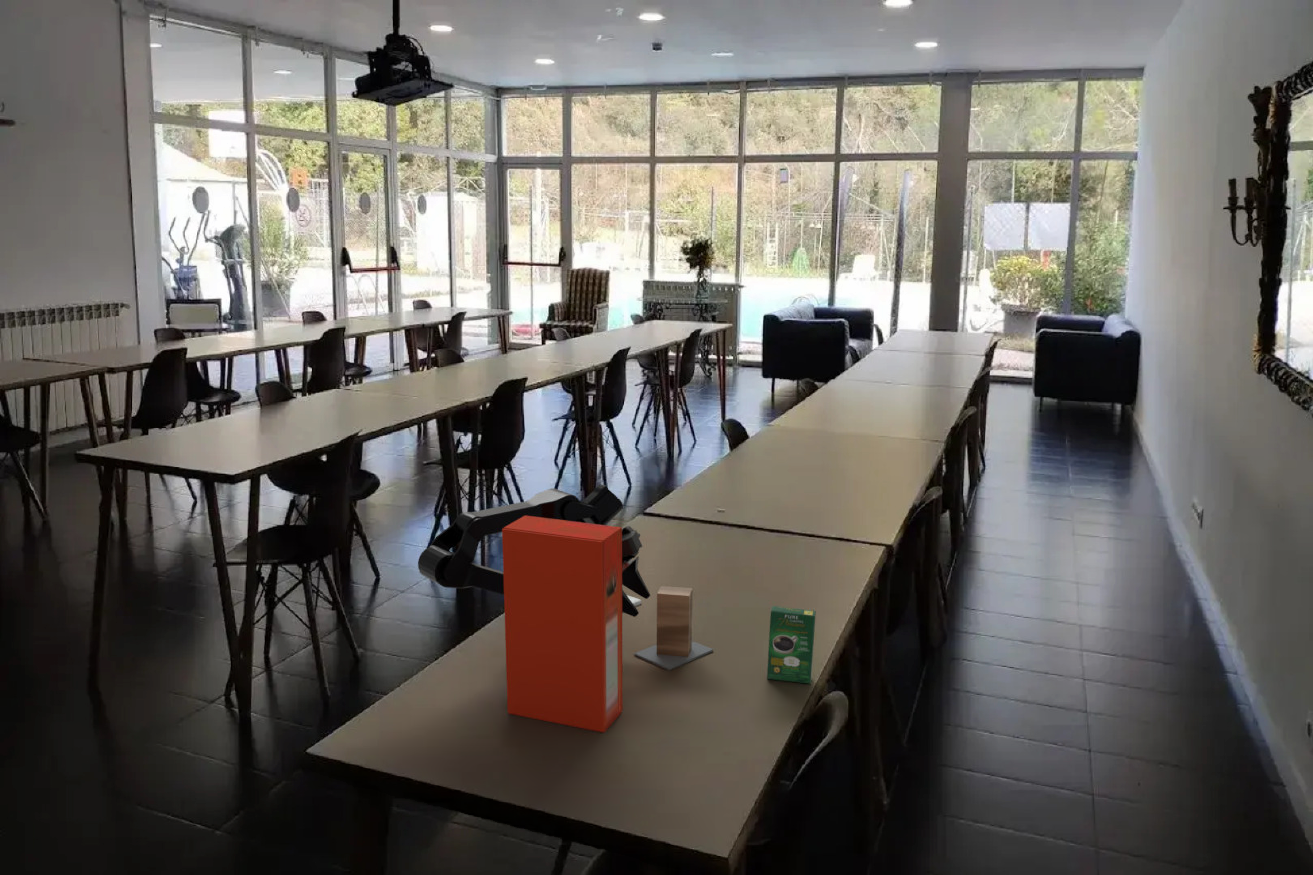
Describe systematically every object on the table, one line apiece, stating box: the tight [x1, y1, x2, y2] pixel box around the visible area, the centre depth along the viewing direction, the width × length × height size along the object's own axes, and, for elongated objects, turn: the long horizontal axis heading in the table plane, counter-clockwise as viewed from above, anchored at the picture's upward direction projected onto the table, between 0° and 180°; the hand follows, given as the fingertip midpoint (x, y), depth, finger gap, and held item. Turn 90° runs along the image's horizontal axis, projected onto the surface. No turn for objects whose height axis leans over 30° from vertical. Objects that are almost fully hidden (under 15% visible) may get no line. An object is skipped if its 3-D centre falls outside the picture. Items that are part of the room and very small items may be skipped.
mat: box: [633, 640, 714, 671], centre depth 192 cm, size 12×9×1 cm
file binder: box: [501, 516, 624, 733], centre depth 165 cm, size 8×17×32 cm, turn 69°
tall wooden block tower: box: [656, 585, 693, 657], centre depth 191 cm, size 4×6×12 cm, turn 79°
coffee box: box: [766, 605, 816, 685], centre depth 180 cm, size 8×3×13 cm, turn 77°
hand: (643, 606), depth 190 cm, fingers open, 9 cm apart
